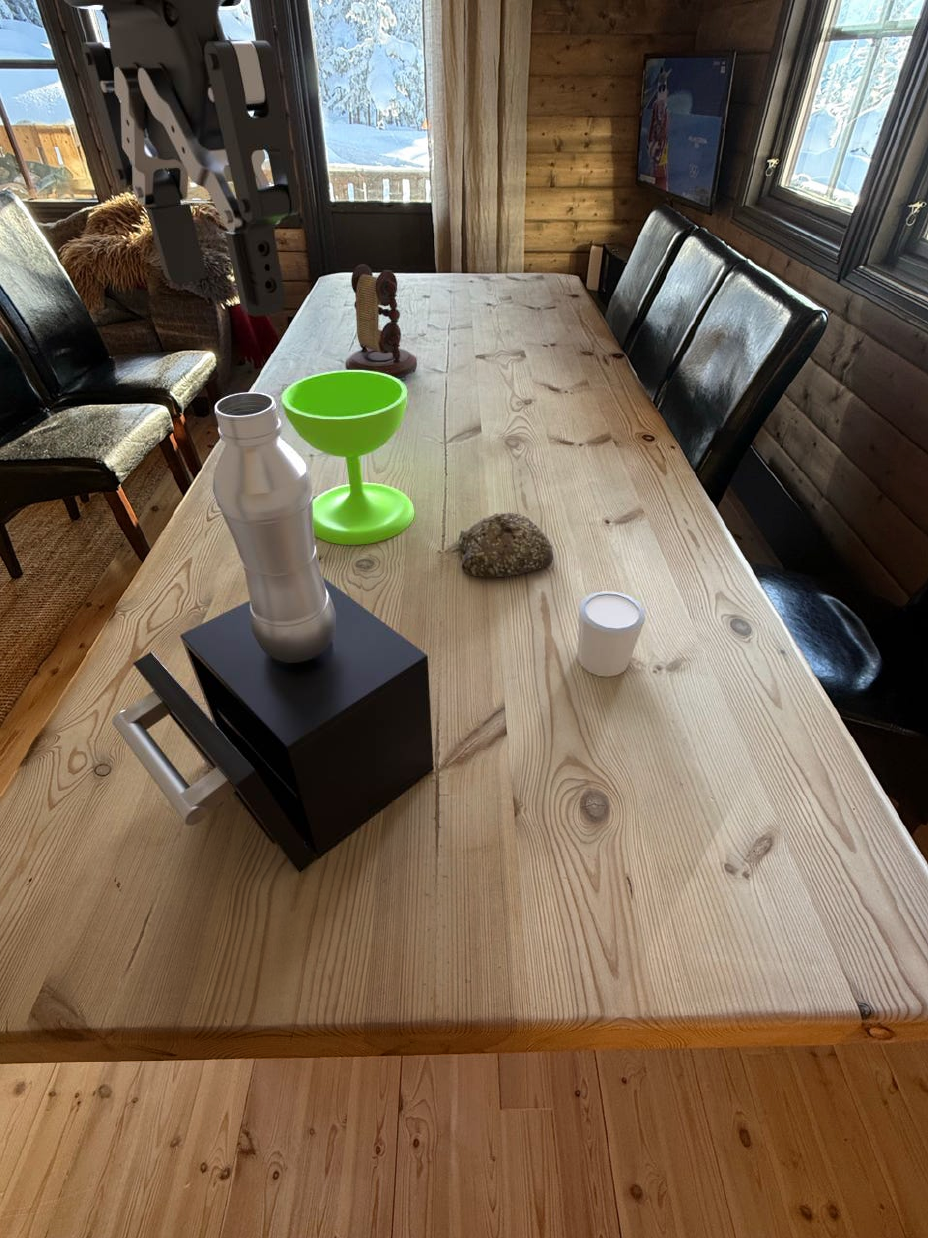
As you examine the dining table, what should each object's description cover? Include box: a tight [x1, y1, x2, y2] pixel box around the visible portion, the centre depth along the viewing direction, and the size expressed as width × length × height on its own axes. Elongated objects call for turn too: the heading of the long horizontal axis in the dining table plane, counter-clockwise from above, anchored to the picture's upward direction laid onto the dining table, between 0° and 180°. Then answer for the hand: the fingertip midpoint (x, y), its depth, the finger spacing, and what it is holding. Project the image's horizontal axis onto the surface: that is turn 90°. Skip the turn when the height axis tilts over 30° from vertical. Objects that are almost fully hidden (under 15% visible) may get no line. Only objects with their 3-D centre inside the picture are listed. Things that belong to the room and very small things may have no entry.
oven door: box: [111, 651, 316, 874], centre depth 53 cm, size 5×16×15 cm, turn 44°
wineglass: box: [281, 369, 416, 546], centre depth 90 cm, size 16×16×18 cm
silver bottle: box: [212, 391, 336, 663], centre depth 46 cm, size 6×7×20 cm
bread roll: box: [457, 512, 554, 578], centre depth 87 cm, size 13×12×5 cm
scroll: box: [344, 264, 418, 379], centre depth 131 cm, size 15×15×20 cm
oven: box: [179, 576, 435, 860], centre depth 58 cm, size 13×16×15 cm
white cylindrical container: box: [577, 590, 646, 678], centre depth 71 cm, size 7×7×7 cm
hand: (224, 295), depth 36 cm, fingers open, 8 cm apart
